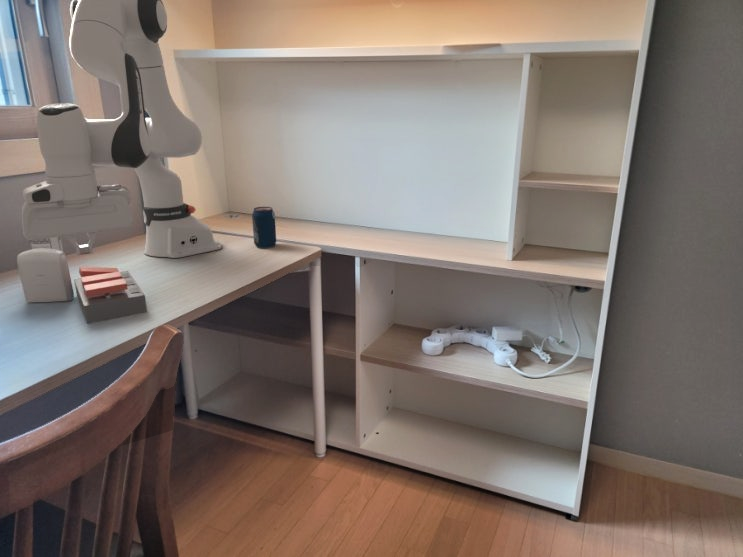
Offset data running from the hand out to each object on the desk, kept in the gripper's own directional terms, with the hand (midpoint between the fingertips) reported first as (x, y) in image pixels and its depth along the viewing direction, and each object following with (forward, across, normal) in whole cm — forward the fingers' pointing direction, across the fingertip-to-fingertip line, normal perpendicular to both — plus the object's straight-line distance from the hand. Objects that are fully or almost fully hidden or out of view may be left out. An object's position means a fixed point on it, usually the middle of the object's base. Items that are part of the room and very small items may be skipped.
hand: (85, 253), depth 115 cm
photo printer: (+14, +8, -15) cm, 22 cm away
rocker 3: (+9, -3, 0) cm, 10 cm away
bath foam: (+14, +6, -32) cm, 35 cm away
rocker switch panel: (+14, -4, -6) cm, 16 cm away
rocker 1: (+9, -3, -12) cm, 15 cm away
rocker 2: (+9, -3, -6) cm, 11 cm away
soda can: (+15, -53, -33) cm, 64 cm away
